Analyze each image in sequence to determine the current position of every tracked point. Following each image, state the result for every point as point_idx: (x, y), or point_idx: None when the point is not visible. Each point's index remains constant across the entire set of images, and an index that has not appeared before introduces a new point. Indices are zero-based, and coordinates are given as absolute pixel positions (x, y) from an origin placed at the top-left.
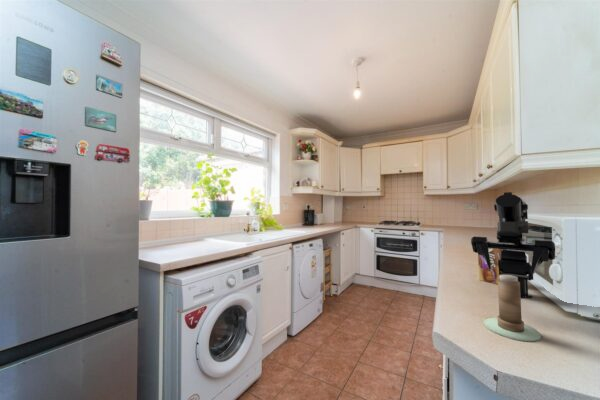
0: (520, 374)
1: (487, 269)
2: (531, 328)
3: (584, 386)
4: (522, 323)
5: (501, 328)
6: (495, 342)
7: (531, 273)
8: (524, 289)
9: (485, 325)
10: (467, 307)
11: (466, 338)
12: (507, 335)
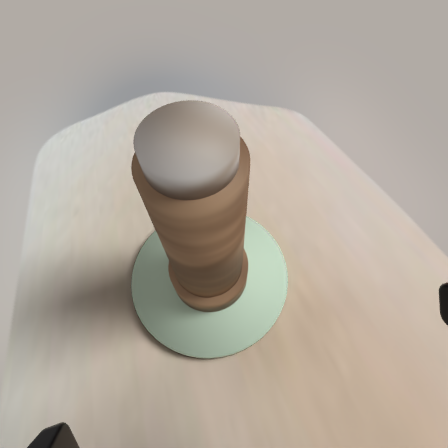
0: (131, 104)
1: None
2: (163, 329)
3: (49, 147)
4: (170, 264)
5: None
6: None
7: (71, 436)
8: None
9: (262, 228)
10: (413, 351)
11: (249, 135)
12: None
